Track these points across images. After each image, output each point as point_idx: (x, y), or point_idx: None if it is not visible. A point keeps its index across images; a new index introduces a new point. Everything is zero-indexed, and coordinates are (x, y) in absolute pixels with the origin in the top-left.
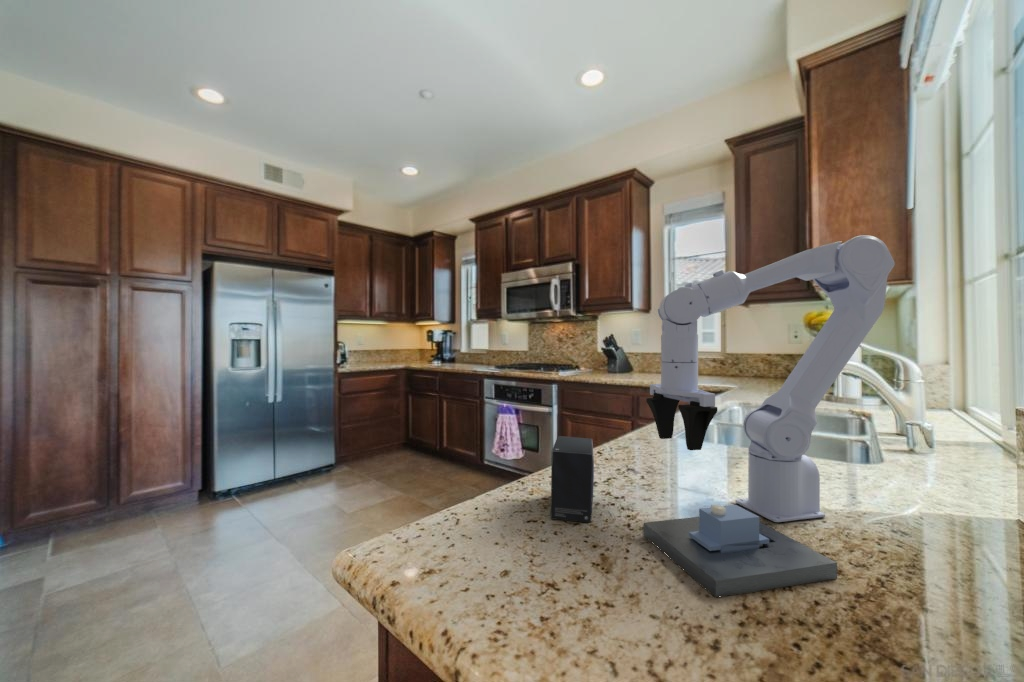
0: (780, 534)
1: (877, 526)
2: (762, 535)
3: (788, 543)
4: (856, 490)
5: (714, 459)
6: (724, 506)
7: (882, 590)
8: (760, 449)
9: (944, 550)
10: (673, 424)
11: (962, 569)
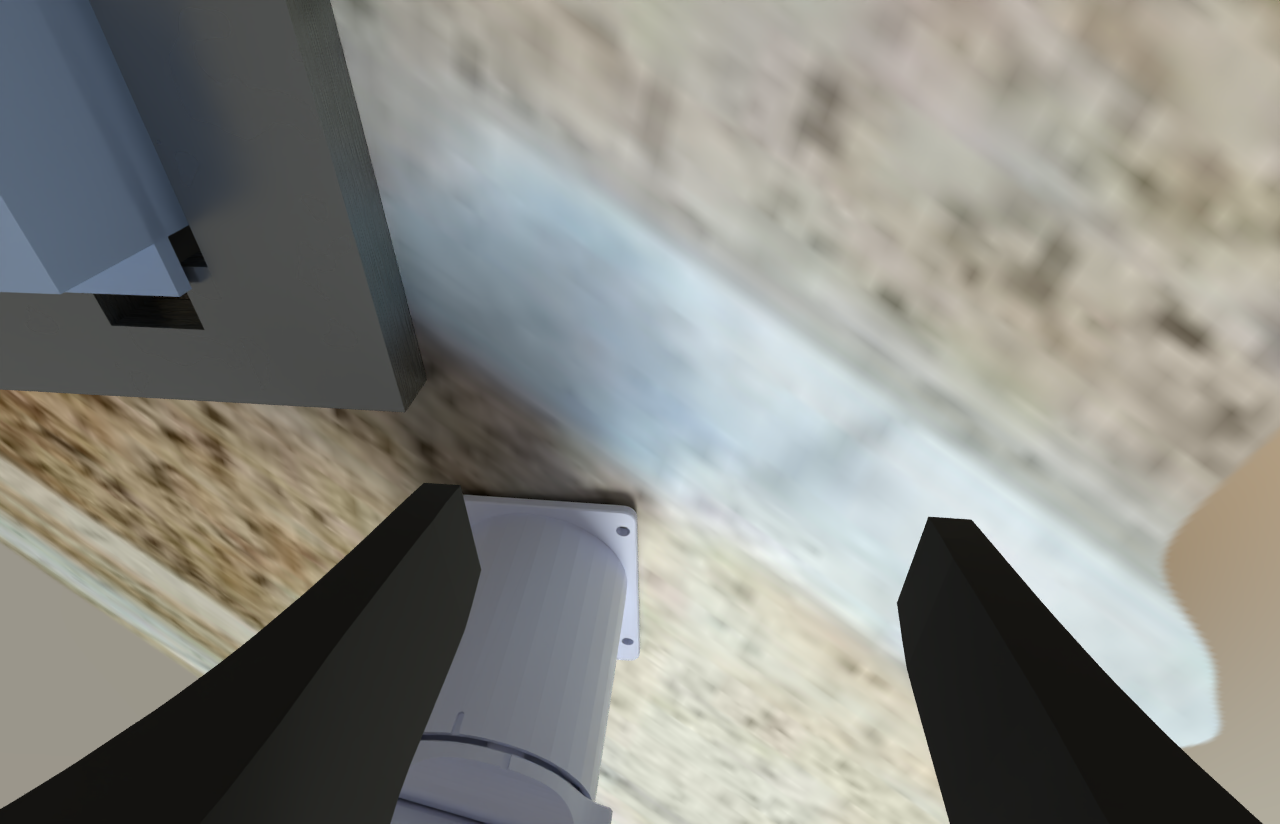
0: (191, 389)
1: None
2: (80, 289)
3: (109, 356)
4: (647, 807)
5: None
6: (2, 210)
7: (20, 414)
8: (431, 788)
9: None
10: (937, 768)
11: (199, 632)
